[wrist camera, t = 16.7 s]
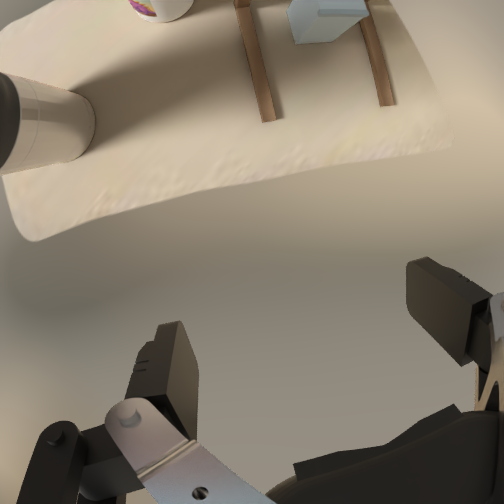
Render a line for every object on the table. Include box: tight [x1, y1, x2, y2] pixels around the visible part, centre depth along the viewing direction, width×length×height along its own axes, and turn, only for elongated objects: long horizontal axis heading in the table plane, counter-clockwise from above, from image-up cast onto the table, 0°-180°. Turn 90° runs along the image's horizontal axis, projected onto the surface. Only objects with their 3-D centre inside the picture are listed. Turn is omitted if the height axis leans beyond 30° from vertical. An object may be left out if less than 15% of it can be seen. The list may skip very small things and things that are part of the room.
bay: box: [234, 0, 394, 123], centre depth 30 cm, size 18×17×8 cm
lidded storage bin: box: [286, 0, 369, 44], centre depth 28 cm, size 5×5×11 cm
